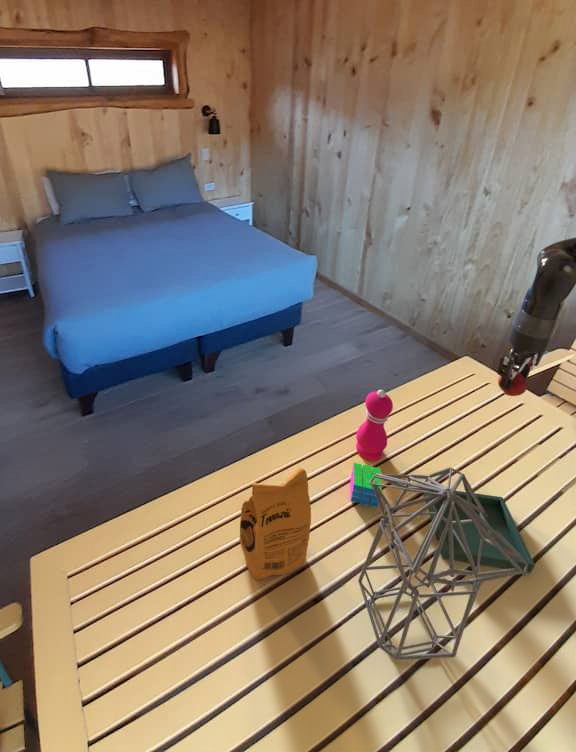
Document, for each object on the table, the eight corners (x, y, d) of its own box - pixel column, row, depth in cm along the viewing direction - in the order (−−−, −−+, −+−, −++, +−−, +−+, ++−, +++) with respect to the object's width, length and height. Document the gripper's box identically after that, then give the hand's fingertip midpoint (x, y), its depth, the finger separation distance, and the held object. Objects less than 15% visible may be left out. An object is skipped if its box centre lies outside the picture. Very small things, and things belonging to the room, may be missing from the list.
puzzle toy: (377, 508, 88) (381, 491, 86) (350, 501, 90) (353, 484, 87) (376, 484, 93) (380, 468, 90) (350, 478, 95) (353, 462, 92)
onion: (521, 391, 103) (530, 366, 99) (522, 406, 98) (533, 381, 95) (494, 383, 105) (502, 359, 102) (494, 397, 101) (503, 373, 97)
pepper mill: (353, 458, 99) (365, 398, 90) (354, 436, 105) (365, 377, 96) (384, 466, 97) (399, 405, 88) (383, 442, 103) (397, 383, 94)
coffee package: (235, 534, 84) (235, 463, 74) (290, 519, 86) (297, 449, 76) (250, 587, 75) (252, 515, 65) (311, 569, 78) (322, 497, 68)
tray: (498, 505, 88) (502, 497, 87) (530, 573, 76) (535, 565, 75) (423, 494, 91) (425, 486, 89) (442, 558, 79) (445, 550, 78)
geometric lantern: (342, 576, 76) (370, 450, 61) (421, 569, 77) (469, 442, 61) (377, 690, 62) (425, 563, 47) (474, 679, 63) (554, 552, 47)
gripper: (531, 345, 87) (508, 403, 95) (570, 328, 92) (545, 384, 100) (497, 328, 93) (478, 383, 101) (535, 312, 98) (514, 366, 106)
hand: (512, 383), depth 100 cm, fingers closed on onion, 6 cm apart
